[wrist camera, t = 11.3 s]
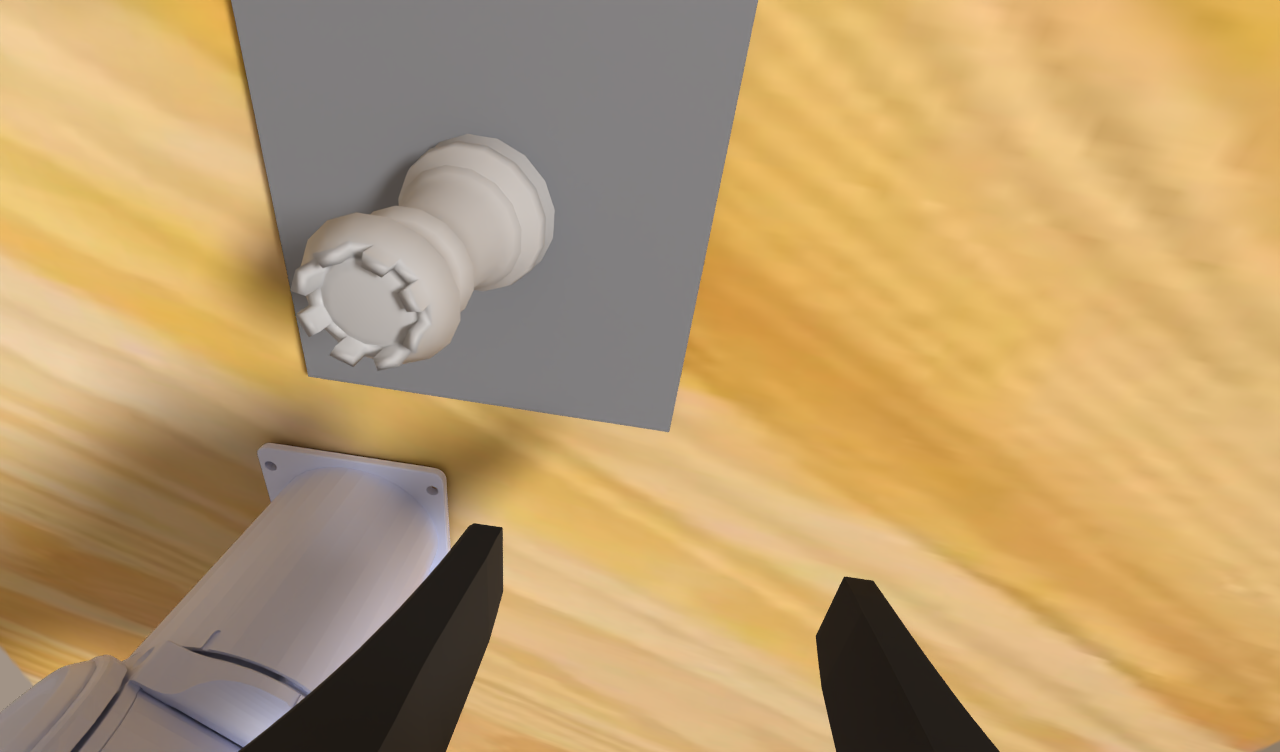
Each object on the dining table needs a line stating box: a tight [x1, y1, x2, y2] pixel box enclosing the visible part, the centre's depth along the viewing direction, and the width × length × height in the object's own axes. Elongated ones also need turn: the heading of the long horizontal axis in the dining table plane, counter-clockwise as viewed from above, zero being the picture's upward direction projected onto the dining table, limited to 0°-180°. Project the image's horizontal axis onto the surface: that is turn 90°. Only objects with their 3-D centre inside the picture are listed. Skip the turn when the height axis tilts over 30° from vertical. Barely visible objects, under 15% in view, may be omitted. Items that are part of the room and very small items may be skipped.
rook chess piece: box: [290, 134, 555, 371], centre depth 14 cm, size 4×4×8 cm
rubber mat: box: [231, 0, 758, 432], centre depth 18 cm, size 14×14×1 cm
